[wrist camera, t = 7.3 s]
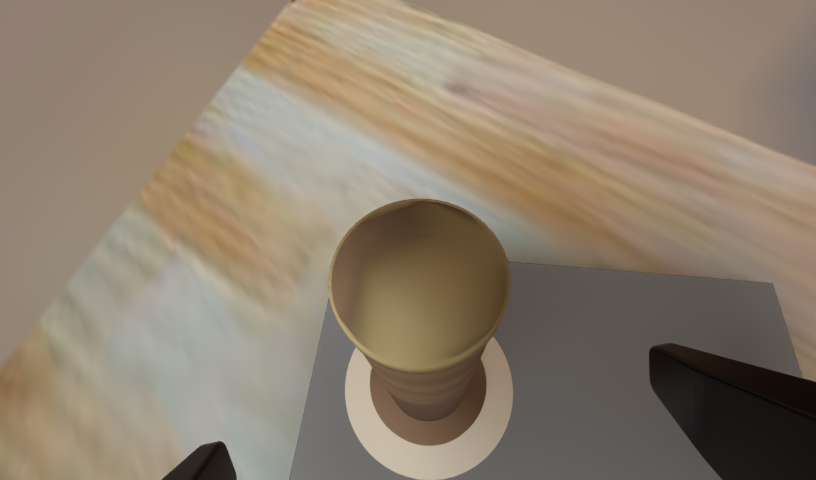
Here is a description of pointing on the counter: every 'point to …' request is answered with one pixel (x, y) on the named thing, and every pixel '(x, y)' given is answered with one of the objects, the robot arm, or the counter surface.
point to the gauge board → (553, 383)
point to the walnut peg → (422, 312)
